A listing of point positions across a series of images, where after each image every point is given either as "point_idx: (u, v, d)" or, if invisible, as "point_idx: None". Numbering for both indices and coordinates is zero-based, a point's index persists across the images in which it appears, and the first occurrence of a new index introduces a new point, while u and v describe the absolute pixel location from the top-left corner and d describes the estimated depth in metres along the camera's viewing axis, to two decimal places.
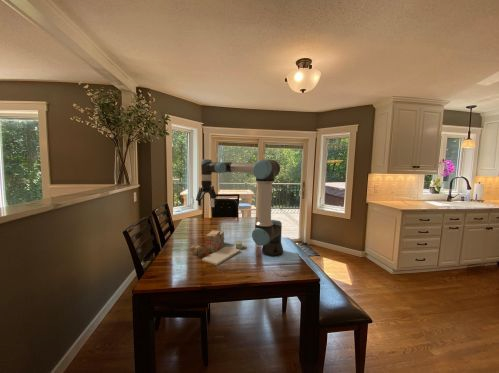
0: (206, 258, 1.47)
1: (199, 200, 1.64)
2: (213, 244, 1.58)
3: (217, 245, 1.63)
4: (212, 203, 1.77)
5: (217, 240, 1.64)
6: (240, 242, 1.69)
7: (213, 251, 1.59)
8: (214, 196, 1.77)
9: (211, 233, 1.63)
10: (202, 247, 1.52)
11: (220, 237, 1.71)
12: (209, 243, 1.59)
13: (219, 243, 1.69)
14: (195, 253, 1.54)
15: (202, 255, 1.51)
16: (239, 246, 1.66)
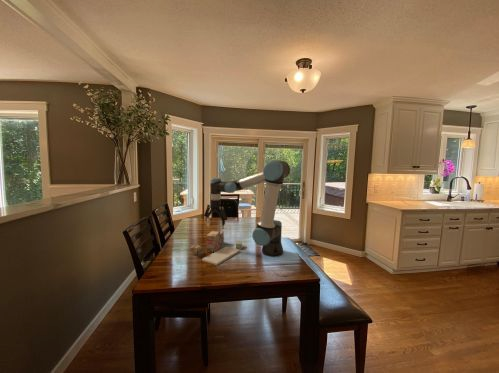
0: (206, 258, 1.47)
1: (206, 216, 1.71)
2: (214, 244, 1.59)
3: (217, 245, 1.64)
4: None
5: (217, 240, 1.64)
6: (240, 242, 1.69)
7: (214, 251, 1.59)
8: (222, 218, 1.62)
9: (211, 233, 1.63)
10: (202, 247, 1.52)
11: (220, 237, 1.71)
12: (210, 243, 1.59)
13: (219, 243, 1.69)
14: (195, 253, 1.54)
15: (202, 255, 1.51)
16: (239, 246, 1.66)
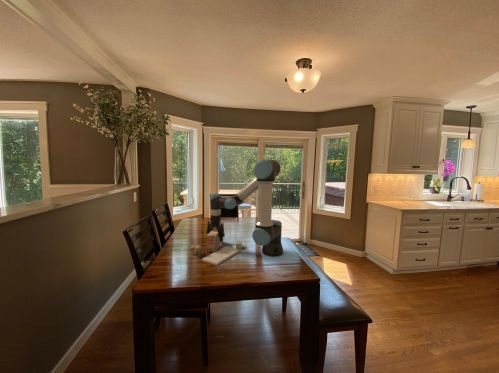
0: (206, 258, 1.47)
1: None
2: (214, 244, 1.59)
3: (217, 244, 1.64)
4: None
5: (217, 240, 1.64)
6: (240, 242, 1.69)
7: (214, 251, 1.59)
8: (220, 235, 1.65)
9: (211, 233, 1.63)
10: (202, 247, 1.52)
11: None
12: (210, 243, 1.59)
13: None
14: (195, 253, 1.54)
15: (202, 255, 1.51)
16: (239, 245, 1.66)
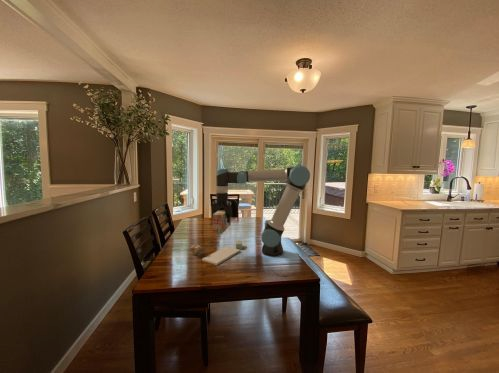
0: (206, 258, 1.47)
1: None
2: (221, 224, 1.41)
3: (224, 226, 1.46)
4: None
5: (224, 220, 1.47)
6: (240, 242, 1.69)
7: (220, 232, 1.42)
8: (227, 215, 1.47)
9: (218, 212, 1.46)
10: (202, 247, 1.52)
11: None
12: (216, 223, 1.41)
13: None
14: (195, 253, 1.54)
15: (202, 255, 1.51)
16: (239, 245, 1.66)
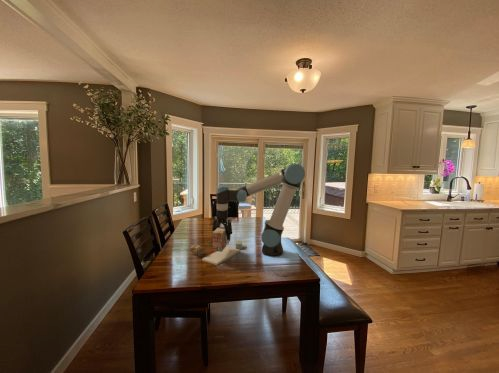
0: (206, 258, 1.47)
1: None
2: (220, 242, 1.42)
3: (224, 243, 1.47)
4: None
5: (224, 237, 1.48)
6: (240, 242, 1.69)
7: (220, 250, 1.43)
8: (227, 232, 1.48)
9: (218, 230, 1.47)
10: (202, 247, 1.52)
11: None
12: (216, 241, 1.43)
13: None
14: (195, 253, 1.54)
15: (202, 255, 1.51)
16: (239, 245, 1.66)
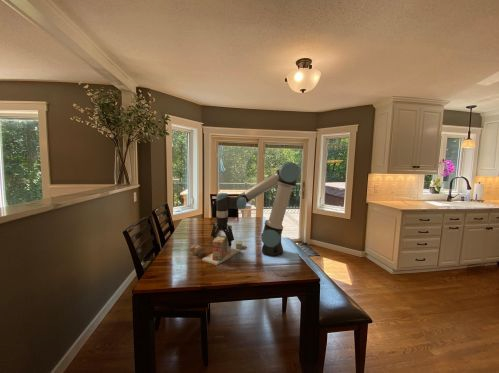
0: (206, 258, 1.47)
1: (213, 236, 1.56)
2: (220, 251, 1.43)
3: (224, 252, 1.48)
4: None
5: (224, 246, 1.48)
6: (240, 242, 1.69)
7: (220, 259, 1.43)
8: (228, 239, 1.48)
9: (218, 239, 1.48)
10: (202, 247, 1.52)
11: None
12: (216, 250, 1.43)
13: (226, 249, 1.53)
14: (195, 253, 1.54)
15: (202, 255, 1.51)
16: (239, 245, 1.66)
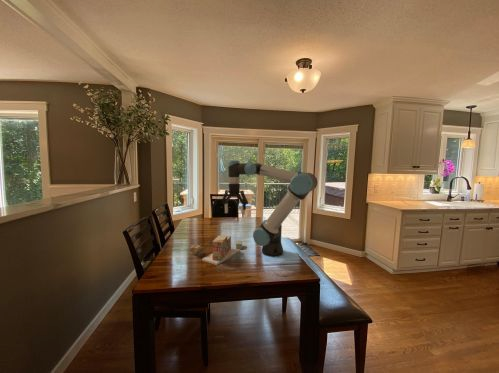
0: (206, 258, 1.47)
1: (223, 202, 1.61)
2: (220, 251, 1.43)
3: (224, 252, 1.48)
4: None
5: (224, 246, 1.48)
6: (240, 242, 1.69)
7: (220, 259, 1.44)
8: (243, 202, 1.53)
9: (218, 238, 1.48)
10: (202, 247, 1.52)
11: (227, 243, 1.55)
12: (216, 250, 1.43)
13: (226, 249, 1.53)
14: (195, 253, 1.54)
15: (202, 255, 1.51)
16: (239, 245, 1.66)
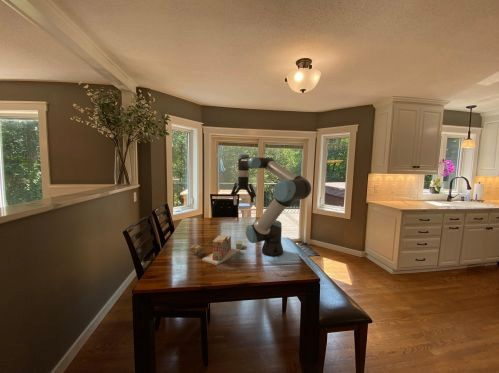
0: (206, 258, 1.47)
1: (233, 195, 1.68)
2: (220, 251, 1.43)
3: (224, 252, 1.48)
4: None
5: (224, 246, 1.49)
6: (240, 242, 1.69)
7: (220, 259, 1.44)
8: (251, 195, 1.59)
9: (218, 238, 1.48)
10: (202, 247, 1.52)
11: (227, 243, 1.55)
12: (216, 250, 1.43)
13: (226, 249, 1.53)
14: (195, 253, 1.54)
15: (202, 255, 1.51)
16: (239, 245, 1.66)
